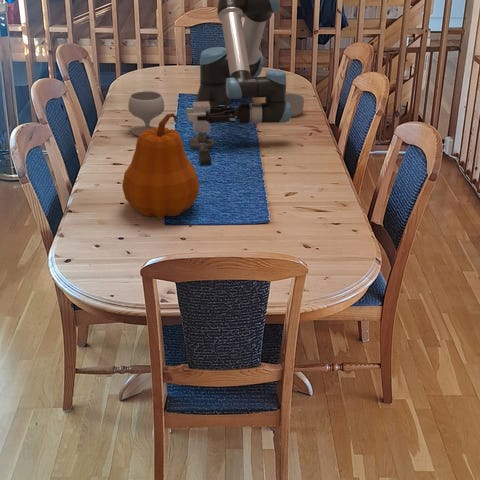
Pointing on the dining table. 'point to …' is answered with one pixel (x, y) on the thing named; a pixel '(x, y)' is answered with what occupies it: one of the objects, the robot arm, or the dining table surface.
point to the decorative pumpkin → (160, 174)
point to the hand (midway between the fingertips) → (187, 114)
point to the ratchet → (202, 147)
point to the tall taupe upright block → (199, 109)
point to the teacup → (295, 103)
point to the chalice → (145, 108)
